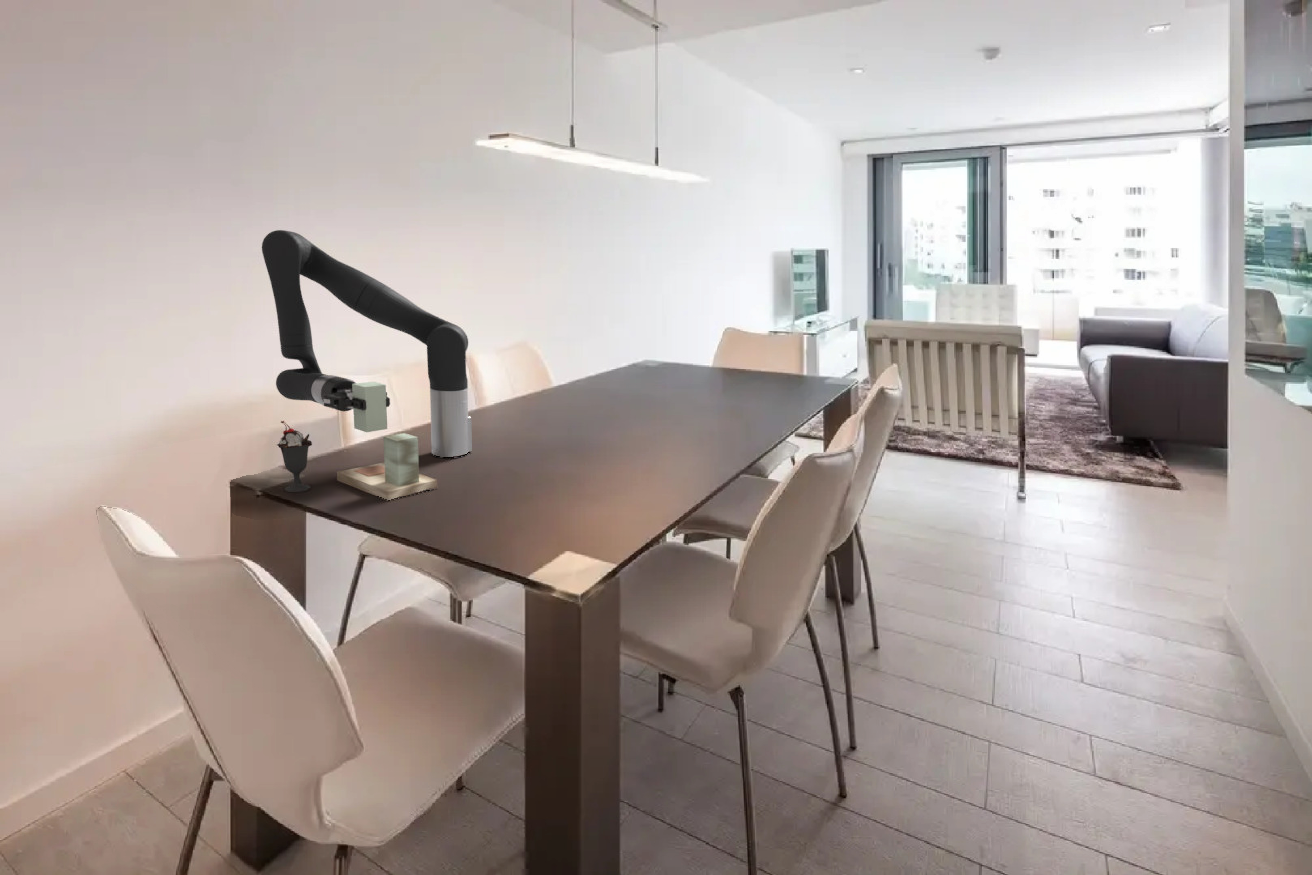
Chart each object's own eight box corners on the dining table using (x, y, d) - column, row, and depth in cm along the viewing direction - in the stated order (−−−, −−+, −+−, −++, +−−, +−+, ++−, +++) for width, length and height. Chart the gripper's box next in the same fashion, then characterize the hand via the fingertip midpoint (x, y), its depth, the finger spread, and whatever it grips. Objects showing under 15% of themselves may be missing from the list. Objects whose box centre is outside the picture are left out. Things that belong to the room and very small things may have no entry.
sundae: (274, 488, 156) (268, 420, 153) (305, 482, 161) (300, 416, 158) (289, 495, 152) (283, 425, 149) (320, 489, 157) (316, 421, 154)
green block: (374, 425, 166) (373, 381, 164) (387, 428, 163) (385, 384, 161) (354, 428, 162) (352, 383, 160) (366, 432, 159) (364, 387, 157)
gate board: (385, 470, 173) (383, 420, 170) (437, 488, 161) (435, 435, 159) (337, 480, 164) (334, 428, 161) (388, 500, 152) (386, 444, 149)
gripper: (304, 379, 164) (344, 390, 153) (363, 373, 175) (405, 383, 165) (306, 412, 165) (346, 425, 155) (364, 404, 176) (406, 416, 166)
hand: (376, 403), depth 160 cm, fingers closed on green block, 5 cm apart
